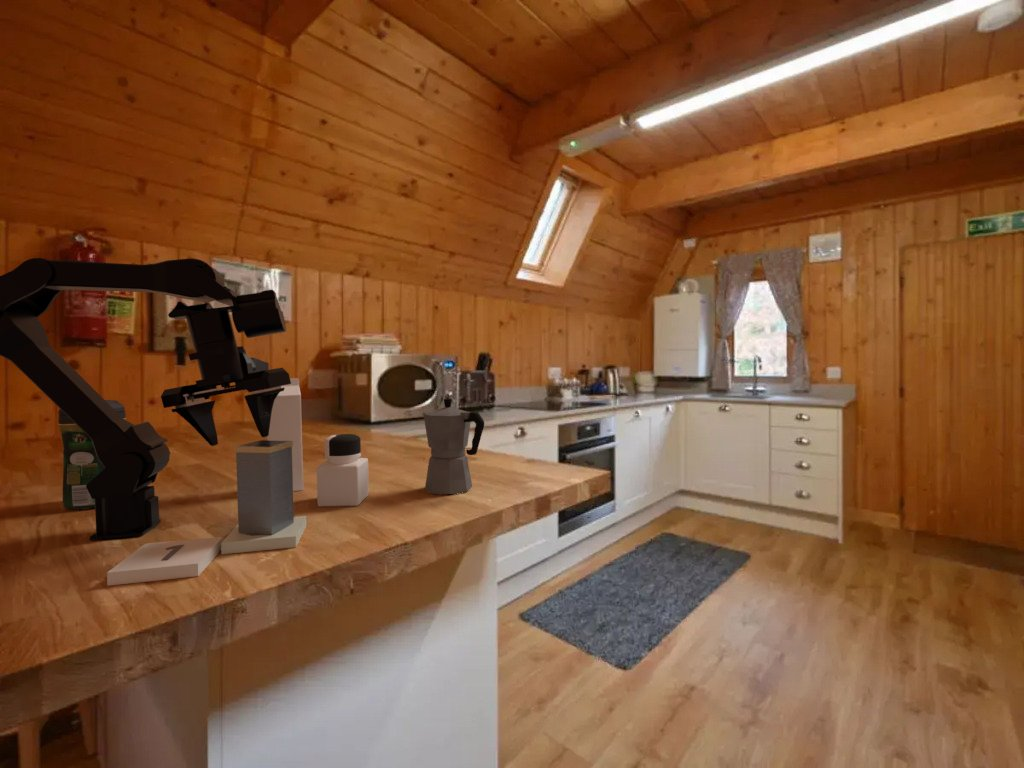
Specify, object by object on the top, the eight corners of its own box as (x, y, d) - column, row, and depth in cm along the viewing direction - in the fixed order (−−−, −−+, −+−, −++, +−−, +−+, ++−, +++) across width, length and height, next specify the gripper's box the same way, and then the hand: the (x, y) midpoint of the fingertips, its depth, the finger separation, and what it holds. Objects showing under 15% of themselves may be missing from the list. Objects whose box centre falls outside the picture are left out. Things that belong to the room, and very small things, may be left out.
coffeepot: (407, 489, 94) (406, 398, 93) (440, 479, 102) (439, 395, 101) (467, 502, 86) (466, 401, 85) (498, 490, 93) (498, 398, 92)
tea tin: (237, 533, 66) (234, 446, 65) (262, 520, 71) (259, 440, 70) (272, 534, 65) (269, 447, 64) (294, 522, 70) (292, 440, 70)
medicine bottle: (369, 495, 90) (368, 431, 90) (358, 506, 83) (357, 437, 83) (331, 495, 90) (329, 432, 90) (316, 507, 83) (315, 438, 83)
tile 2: (221, 554, 62) (221, 542, 62) (241, 531, 71) (241, 520, 71) (296, 547, 65) (295, 535, 65) (306, 525, 73) (306, 515, 73)
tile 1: (107, 585, 54) (106, 571, 54) (146, 554, 62) (145, 542, 62) (198, 576, 56) (197, 562, 56) (223, 547, 65) (222, 536, 65)
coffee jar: (90, 496, 90) (85, 398, 90) (137, 494, 92) (133, 397, 91) (51, 512, 81) (46, 402, 80) (105, 509, 82) (100, 401, 82)
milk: (267, 488, 96) (264, 378, 95) (300, 483, 99) (297, 377, 98) (269, 494, 91) (265, 379, 90) (304, 490, 94) (300, 378, 93)
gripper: (299, 331, 80) (320, 421, 82) (204, 350, 84) (226, 437, 85) (254, 333, 69) (279, 437, 71) (146, 355, 73) (173, 454, 74)
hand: (239, 441), depth 76 cm, fingers open, 9 cm apart
